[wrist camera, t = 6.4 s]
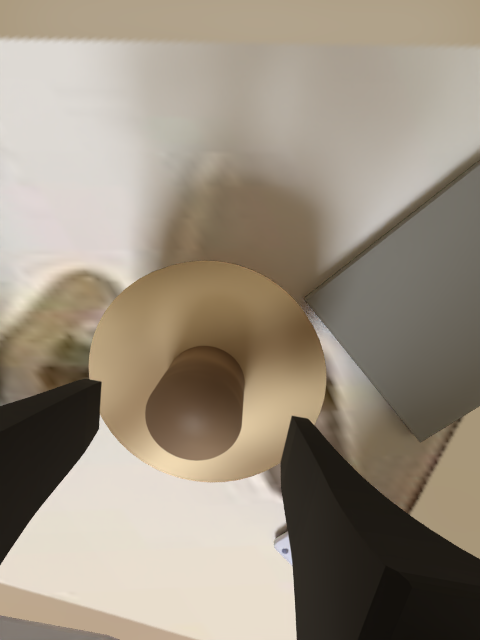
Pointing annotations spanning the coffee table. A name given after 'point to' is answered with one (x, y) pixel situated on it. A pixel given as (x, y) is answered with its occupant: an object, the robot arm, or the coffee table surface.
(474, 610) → the robot arm
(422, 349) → the mat
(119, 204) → the coffee table surface
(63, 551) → the coffee table surface
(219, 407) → the lid
